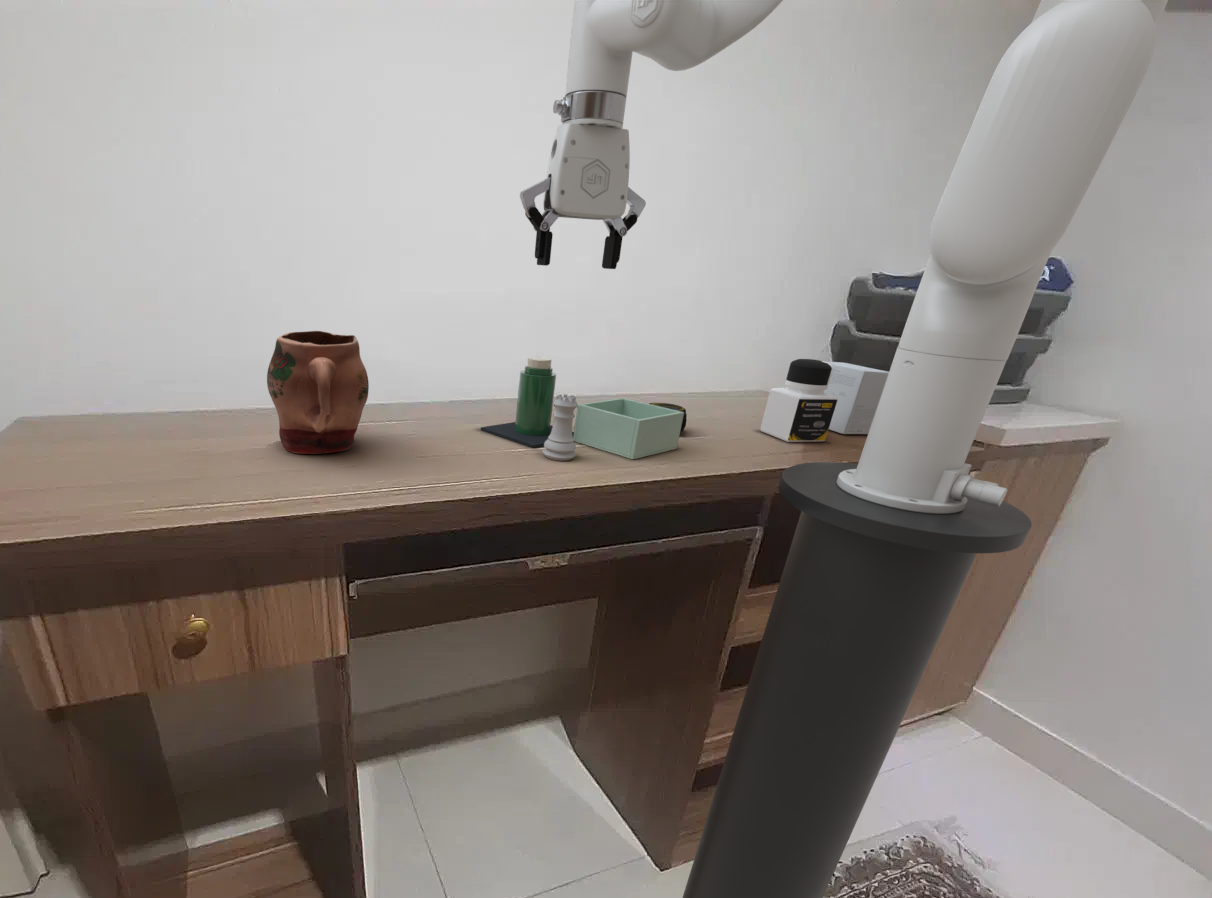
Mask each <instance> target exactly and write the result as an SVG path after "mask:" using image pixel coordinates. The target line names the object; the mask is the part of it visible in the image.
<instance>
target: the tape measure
mask: <svg viewBox="0 0 1212 898" xmlns="http://www.w3.org/2000/svg"><path fill="white" fill-rule="evenodd" d="M648 404H651V405H655V406H659V407H664V408H668V409H672V410H676V411H680V412H684V416H683V421H682V425H681V430H680V433H681V432H682V433H683V432H684V430H685V429H686V426H687V420H688V419H687V415H688V414H687V409H686V408H685V407H683V406H681V405H678V404H674V403H667V402H650V403H648Z"/></svg>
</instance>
